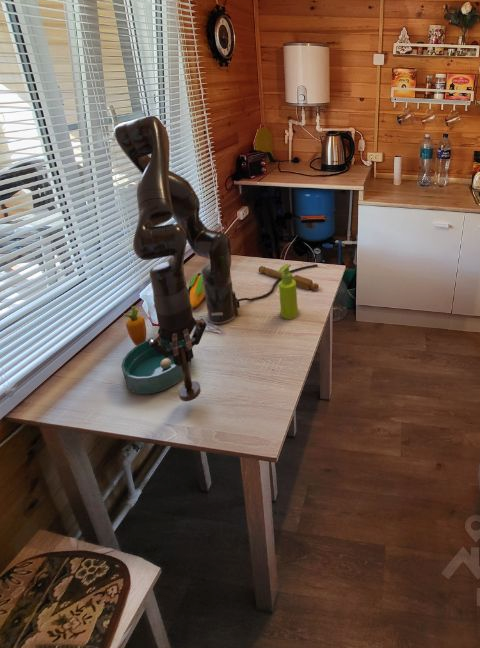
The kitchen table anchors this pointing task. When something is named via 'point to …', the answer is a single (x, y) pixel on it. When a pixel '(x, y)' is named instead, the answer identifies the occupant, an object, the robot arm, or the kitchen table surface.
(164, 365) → the bead
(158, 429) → the kitchen table surface
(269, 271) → the rolling pin
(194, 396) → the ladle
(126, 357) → the bowl
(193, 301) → the corn
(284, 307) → the soap dispenser
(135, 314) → the carrot
